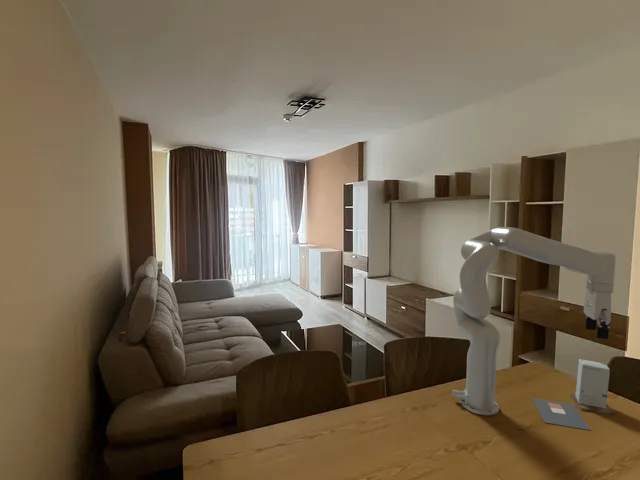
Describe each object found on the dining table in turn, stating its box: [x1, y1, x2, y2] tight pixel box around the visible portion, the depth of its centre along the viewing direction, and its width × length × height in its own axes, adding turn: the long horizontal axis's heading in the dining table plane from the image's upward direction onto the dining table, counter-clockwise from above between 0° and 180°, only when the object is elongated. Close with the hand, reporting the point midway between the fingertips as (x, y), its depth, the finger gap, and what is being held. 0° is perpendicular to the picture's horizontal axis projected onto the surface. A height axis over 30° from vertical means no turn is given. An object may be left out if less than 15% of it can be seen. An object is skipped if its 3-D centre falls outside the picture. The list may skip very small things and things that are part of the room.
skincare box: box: [574, 358, 611, 409], centre depth 127 cm, size 8×6×15 cm
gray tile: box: [532, 397, 592, 431], centre depth 122 cm, size 13×16×1 cm
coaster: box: [570, 393, 616, 416], centre depth 128 cm, size 10×10×1 cm
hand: (596, 333), depth 126 cm, fingers open, 9 cm apart
